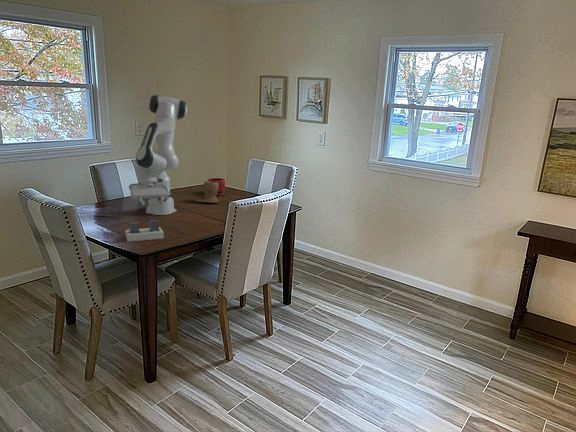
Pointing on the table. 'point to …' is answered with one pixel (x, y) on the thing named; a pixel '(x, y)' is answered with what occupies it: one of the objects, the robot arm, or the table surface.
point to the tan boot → (209, 193)
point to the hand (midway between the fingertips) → (152, 204)
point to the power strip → (142, 233)
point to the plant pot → (221, 184)
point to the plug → (154, 226)
